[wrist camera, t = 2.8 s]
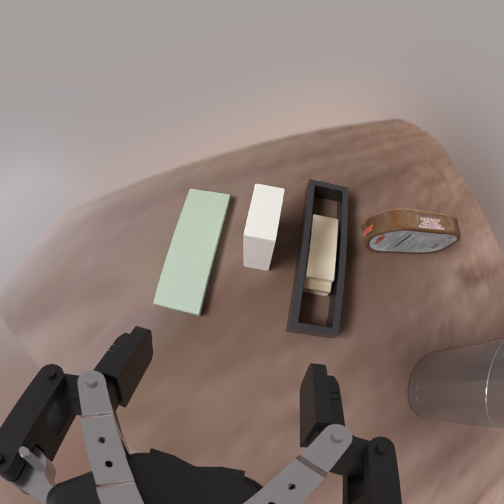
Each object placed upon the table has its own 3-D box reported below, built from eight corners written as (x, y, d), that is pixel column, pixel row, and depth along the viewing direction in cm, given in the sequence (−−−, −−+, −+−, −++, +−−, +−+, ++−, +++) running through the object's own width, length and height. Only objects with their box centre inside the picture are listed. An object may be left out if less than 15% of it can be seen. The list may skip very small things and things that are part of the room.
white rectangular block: (276, 227, 36) (284, 188, 28) (268, 270, 33) (275, 241, 26) (253, 222, 36) (255, 183, 28) (243, 266, 34) (243, 235, 26)
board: (230, 198, 37) (230, 194, 36) (200, 315, 31) (198, 314, 30) (191, 192, 37) (190, 188, 36) (155, 304, 31) (153, 303, 30)
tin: (436, 239, 36) (467, 213, 28) (440, 258, 35) (473, 234, 27) (352, 233, 36) (376, 200, 28) (354, 255, 34) (382, 225, 27)
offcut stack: (331, 227, 36) (338, 216, 33) (325, 296, 33) (332, 290, 30) (309, 223, 36) (313, 211, 34) (300, 292, 33) (305, 285, 30)
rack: (342, 197, 38) (348, 187, 35) (331, 338, 30) (338, 335, 28) (305, 189, 38) (309, 179, 36) (285, 331, 31) (289, 328, 28)
